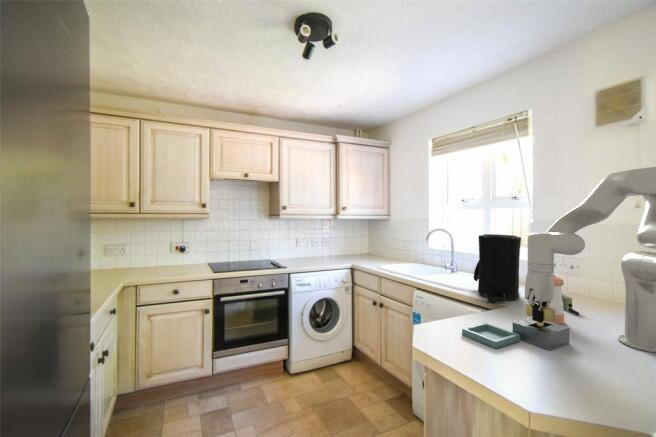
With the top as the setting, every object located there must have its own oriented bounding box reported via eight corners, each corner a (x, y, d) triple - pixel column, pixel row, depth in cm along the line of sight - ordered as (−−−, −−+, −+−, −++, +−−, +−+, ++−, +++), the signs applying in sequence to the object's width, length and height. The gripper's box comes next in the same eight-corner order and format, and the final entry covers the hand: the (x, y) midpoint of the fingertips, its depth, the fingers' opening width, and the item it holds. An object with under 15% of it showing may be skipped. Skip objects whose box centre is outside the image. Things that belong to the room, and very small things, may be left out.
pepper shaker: (568, 324, 120) (568, 277, 120) (547, 323, 121) (547, 276, 121) (558, 318, 127) (558, 273, 127) (538, 317, 129) (539, 273, 128)
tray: (519, 341, 104) (519, 334, 104) (495, 349, 98) (495, 341, 98) (485, 329, 115) (485, 322, 115) (462, 335, 109) (462, 328, 109)
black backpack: (514, 290, 175) (514, 233, 175) (536, 306, 144) (537, 236, 144) (472, 288, 181) (472, 232, 181) (484, 303, 150) (485, 236, 150)
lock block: (569, 343, 102) (569, 327, 102) (549, 350, 97) (549, 334, 97) (532, 331, 113) (532, 317, 113) (512, 337, 107) (512, 322, 107)
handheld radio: (550, 300, 155) (582, 316, 130) (543, 300, 155) (574, 316, 131) (550, 288, 155) (581, 301, 130) (543, 287, 155) (573, 301, 131)
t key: (554, 344, 102) (555, 309, 102) (550, 345, 101) (551, 310, 100) (530, 335, 109) (530, 303, 109) (526, 337, 108) (526, 303, 108)
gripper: (542, 264, 111) (541, 314, 112) (515, 268, 104) (515, 320, 104) (565, 268, 105) (565, 320, 105) (538, 271, 98) (538, 328, 98)
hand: (540, 320), depth 105 cm, fingers closed on t key, 2 cm apart
